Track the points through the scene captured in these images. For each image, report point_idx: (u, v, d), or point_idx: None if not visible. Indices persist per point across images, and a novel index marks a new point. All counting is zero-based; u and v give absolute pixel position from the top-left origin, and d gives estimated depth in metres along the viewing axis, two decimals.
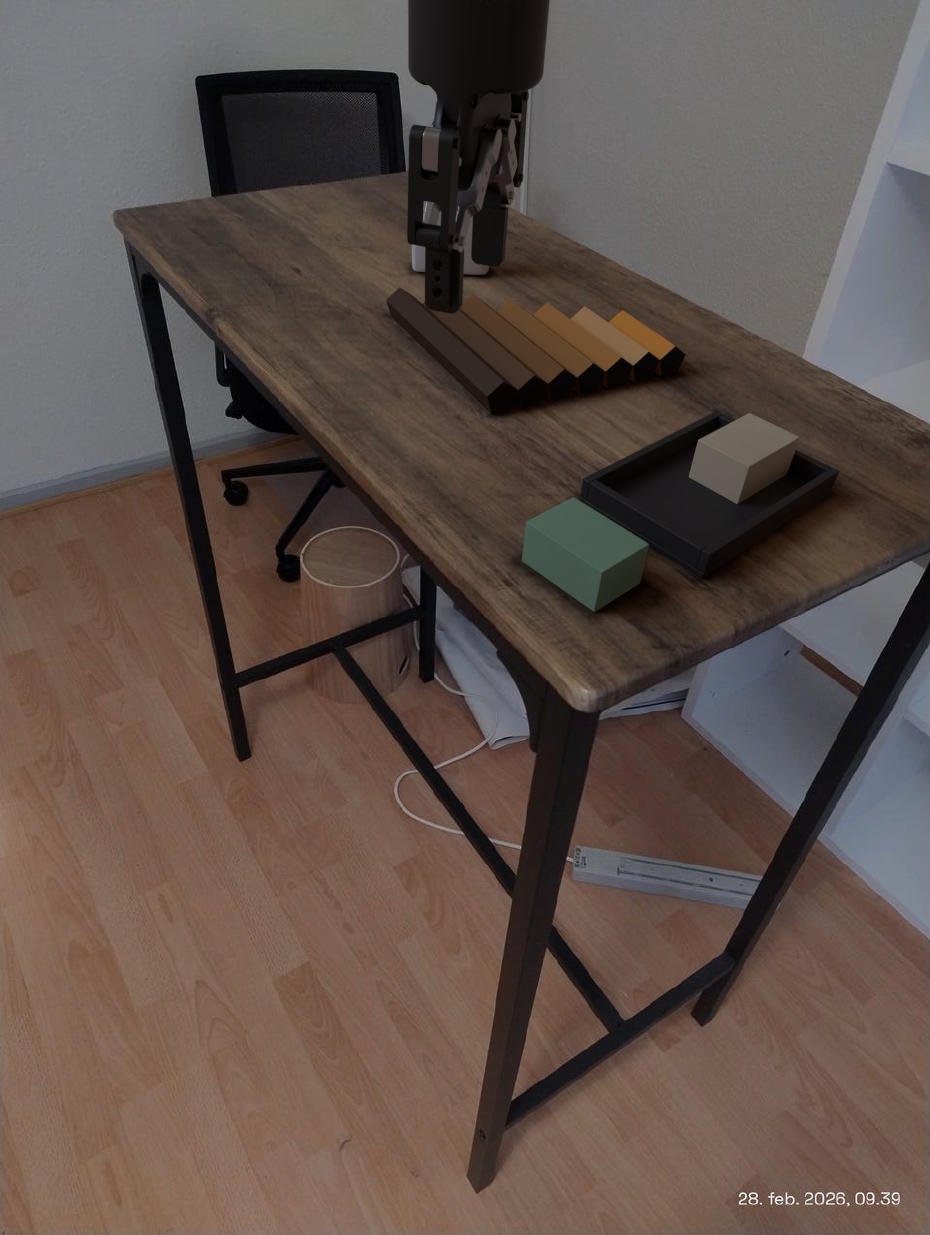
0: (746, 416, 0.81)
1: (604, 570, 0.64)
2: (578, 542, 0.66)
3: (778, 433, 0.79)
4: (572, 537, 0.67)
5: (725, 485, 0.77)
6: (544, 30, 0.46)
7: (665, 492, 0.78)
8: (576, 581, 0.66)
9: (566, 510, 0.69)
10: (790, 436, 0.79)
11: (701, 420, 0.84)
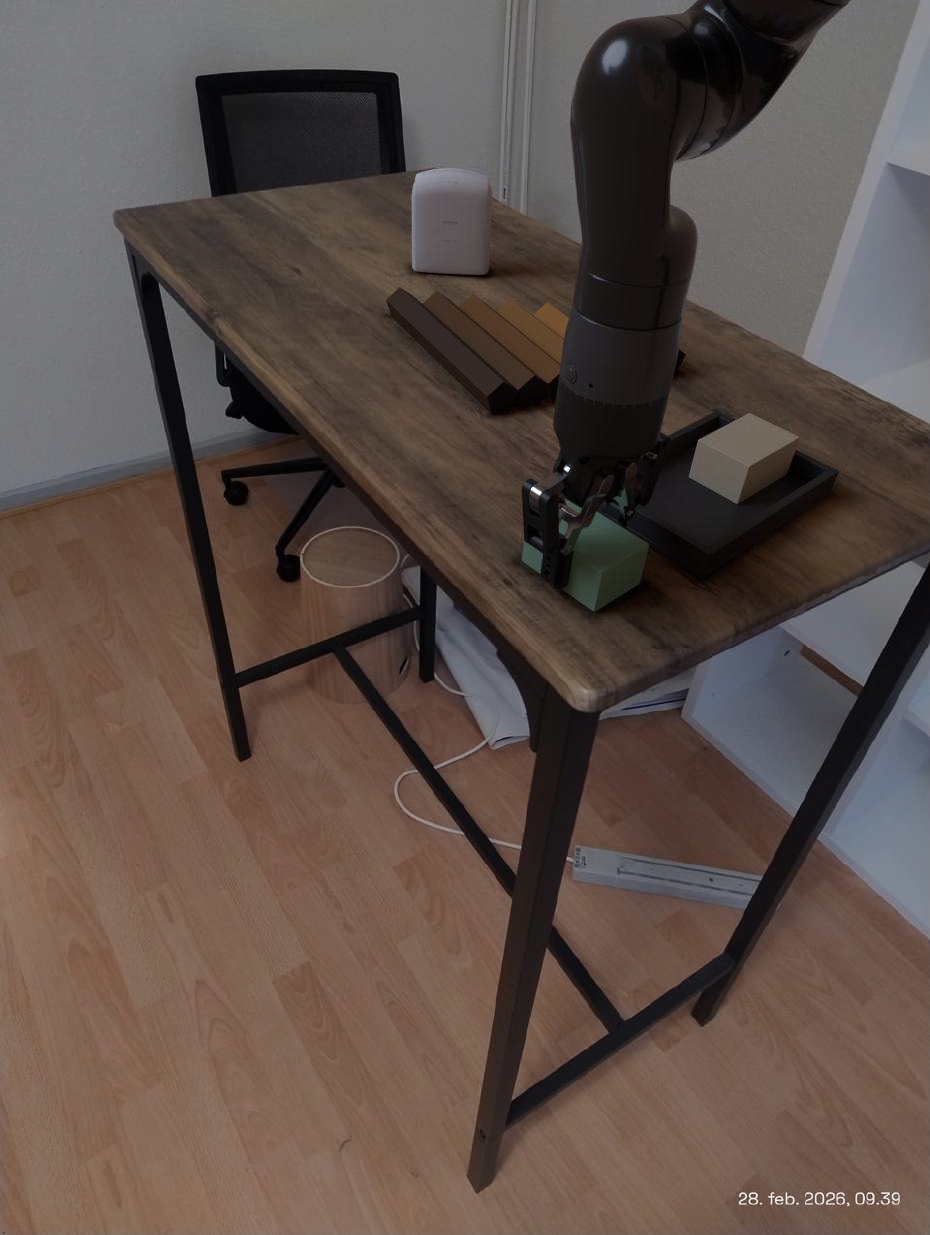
0: (746, 416, 0.81)
1: (604, 570, 0.64)
2: (578, 542, 0.66)
3: (778, 433, 0.79)
4: None
5: (725, 485, 0.77)
6: (653, 422, 0.58)
7: (665, 492, 0.78)
8: (576, 581, 0.66)
9: None
10: (790, 436, 0.79)
11: (701, 420, 0.84)
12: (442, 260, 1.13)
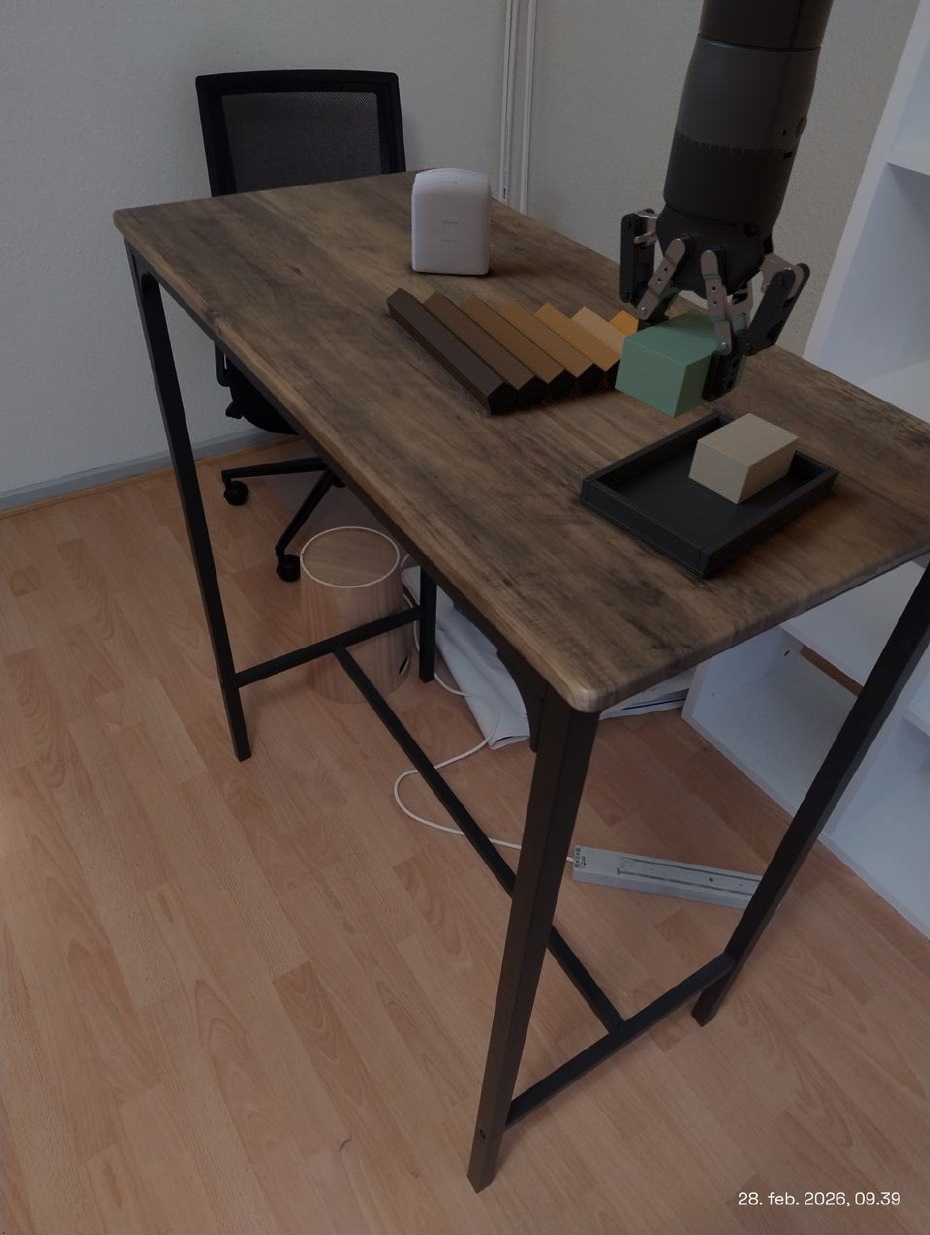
0: (746, 416, 0.81)
1: (627, 338, 0.61)
2: (668, 330, 0.62)
3: (778, 433, 0.79)
4: (677, 328, 0.63)
5: (725, 485, 0.77)
6: (694, 172, 0.52)
7: (665, 492, 0.78)
8: None
9: None
10: (790, 436, 0.79)
11: (701, 420, 0.84)
12: (442, 260, 1.13)
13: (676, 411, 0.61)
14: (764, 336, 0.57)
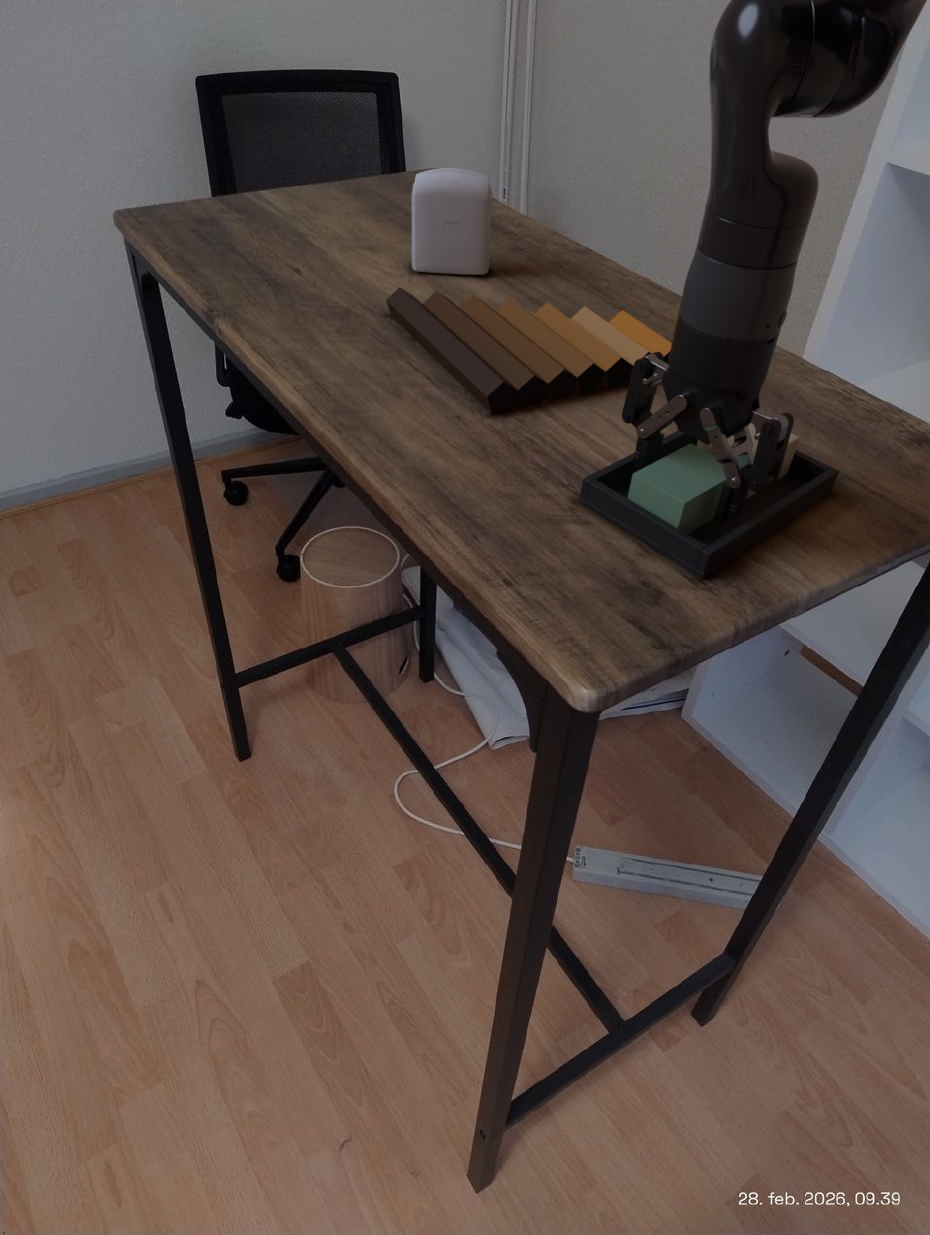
0: None
1: (635, 475, 0.73)
2: (670, 466, 0.74)
3: None
4: (677, 463, 0.74)
5: None
6: (694, 352, 0.64)
7: None
8: None
9: (716, 464, 0.74)
10: (790, 436, 0.79)
11: None
12: (442, 260, 1.13)
13: None
14: (765, 474, 0.67)
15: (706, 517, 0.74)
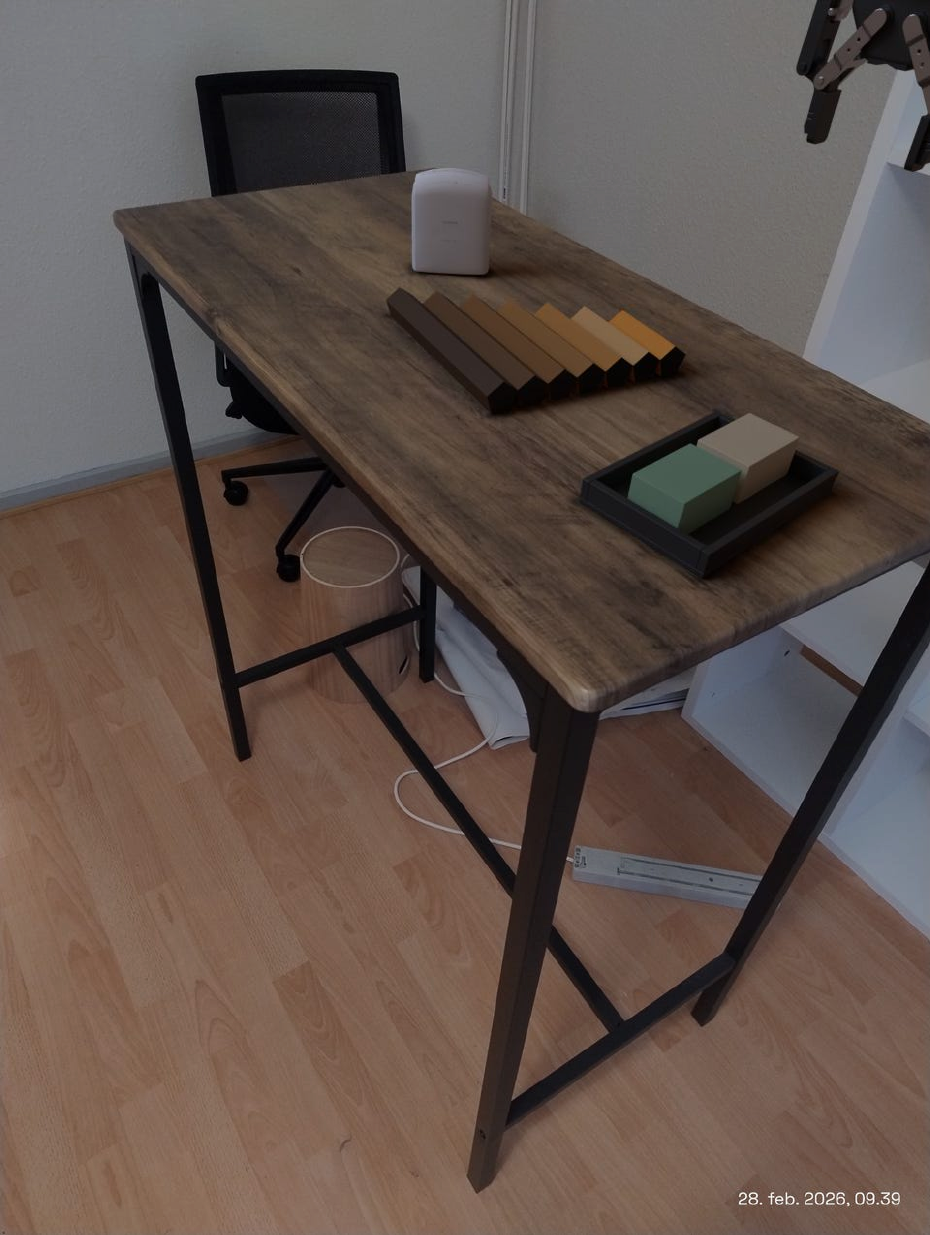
0: (746, 416, 0.81)
1: (635, 475, 0.73)
2: (670, 466, 0.74)
3: (778, 433, 0.79)
4: (677, 463, 0.74)
5: None
6: None
7: None
8: None
9: (716, 464, 0.74)
10: (790, 436, 0.79)
11: (701, 420, 0.84)
12: (442, 260, 1.13)
13: None
14: None
15: (706, 517, 0.74)
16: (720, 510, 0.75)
